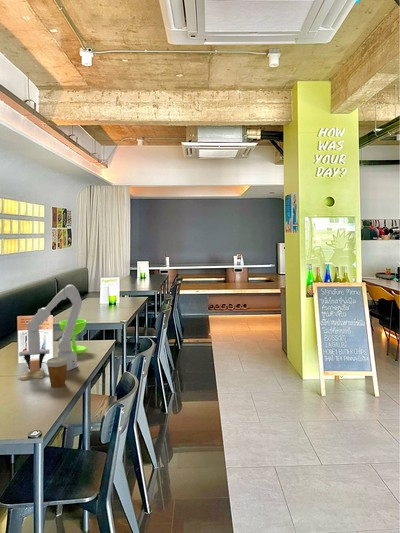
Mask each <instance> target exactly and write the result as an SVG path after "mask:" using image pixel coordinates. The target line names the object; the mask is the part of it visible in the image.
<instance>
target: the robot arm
mask: <svg viewBox="0 0 400 533" xmlns="http://www.w3.org/2000/svg"><path fill="white" fill-rule="evenodd" d="M67 299H68V300H70V302H71V304H72V305H71V307H70V311H69V315H68V317H67V319H66V320H67V323H66V326H65V330H64V332H62V335H61V337H60V338H59V339H58V342H57V344H58V346H57V348H58V350H57V357H65V358H67V361H68V362H67V368H66V372H67V371H68V372H69V371H70V370H73V369H75V368H78V367H79V365H78V355H77V354H76V353H75V352H73V351H72V349H71V346H72V334H73V331H74V328H75V325H76V321H77V319H79V318H78V317H79V315H80V311H81V309H82V305H83V301H82V300H83V299H82V298H81V295H80V293H79V289H78V288H77V287H76V286H75V285H74V284H67V285H66V286H64V288H62V289H60V291H59V292H58V293H57V294H56V295H55V296H54V297H53V298H52V300H51V301H50V302H49V303H48V304H47V306H45V307H41V308H39V309H38V310H37V313H36V314H34V315H33V316H32V317H31V319H30V320H28V322H27V324H26V330H27V348H28V350H24V351H19V353H18V356H19V357H23V359H24V361H25V363H26V364H27V367H28V370H29V371H30V360H31V356H36V355H39V356H38V358H39V361H40V369H42V365H43V360H44V357H45V355H48V354H49V355H50V352H51V351H50V350H51V349H41V335H40V325H43V324H44V322H46V321H47V319H48V318H49V317H50V316H51V311H52V310H53V309H54V308H55V307H56V306H57V305H58V304H59V303H60V302H61V301H64V300H67Z"/></svg>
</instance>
